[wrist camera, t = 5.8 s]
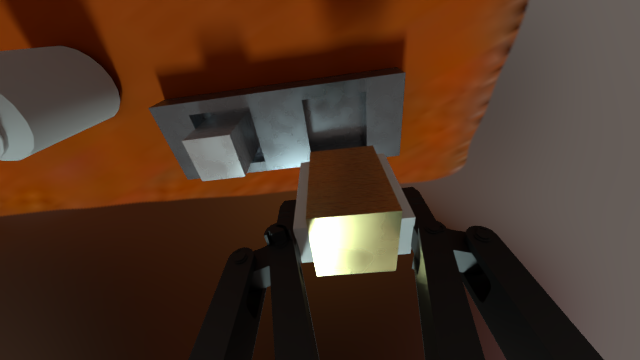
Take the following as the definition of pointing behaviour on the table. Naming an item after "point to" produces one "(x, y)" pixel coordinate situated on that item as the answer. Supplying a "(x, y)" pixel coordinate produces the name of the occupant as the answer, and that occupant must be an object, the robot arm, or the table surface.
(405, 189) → the robot arm
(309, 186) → the brass block
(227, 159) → the silver metal block
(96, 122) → the can
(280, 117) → the grey flat rectangular board
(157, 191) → the table surface
